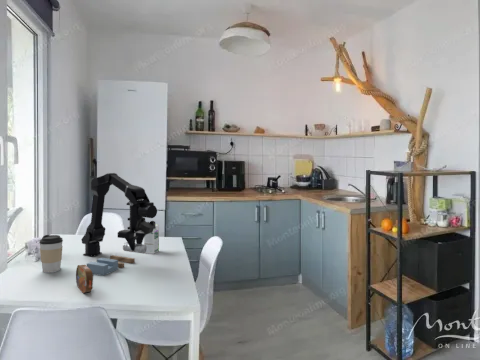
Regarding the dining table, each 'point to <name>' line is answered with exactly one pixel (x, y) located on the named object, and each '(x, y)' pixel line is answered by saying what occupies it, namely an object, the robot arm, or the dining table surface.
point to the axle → (138, 248)
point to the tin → (84, 278)
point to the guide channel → (122, 260)
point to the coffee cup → (51, 253)
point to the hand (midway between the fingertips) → (136, 249)
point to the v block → (103, 266)
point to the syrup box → (152, 241)
